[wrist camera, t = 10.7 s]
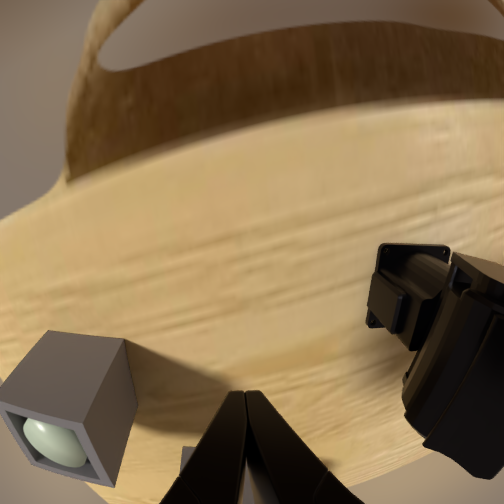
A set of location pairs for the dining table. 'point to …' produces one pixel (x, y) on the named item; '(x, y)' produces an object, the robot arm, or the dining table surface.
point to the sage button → (55, 443)
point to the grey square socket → (74, 400)
